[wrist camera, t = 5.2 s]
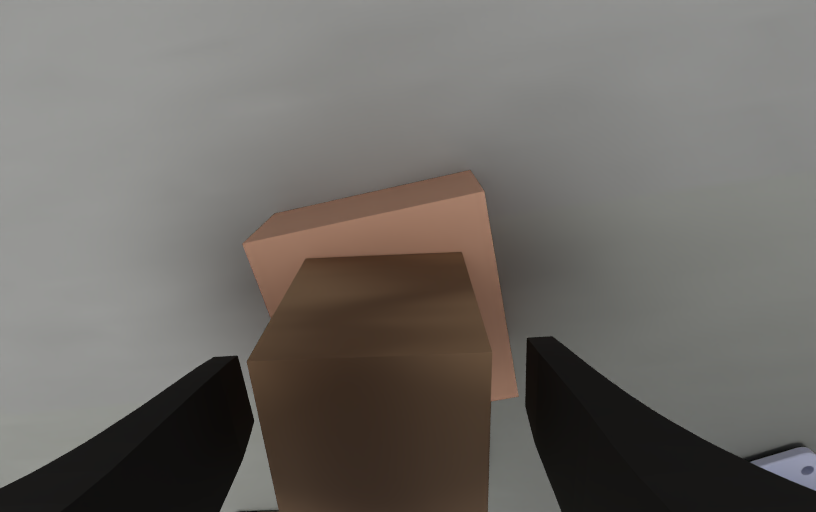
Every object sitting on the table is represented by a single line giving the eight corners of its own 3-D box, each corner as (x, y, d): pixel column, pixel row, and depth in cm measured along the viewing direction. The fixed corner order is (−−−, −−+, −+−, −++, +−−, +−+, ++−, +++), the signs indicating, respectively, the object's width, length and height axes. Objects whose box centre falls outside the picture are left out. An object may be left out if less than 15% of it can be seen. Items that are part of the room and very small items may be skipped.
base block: (468, 168, 15) (484, 191, 12) (499, 339, 18) (518, 396, 15) (276, 211, 16) (242, 243, 13) (331, 370, 18) (314, 432, 15)
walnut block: (461, 252, 13) (492, 352, 8) (462, 381, 14) (487, 525, 10) (305, 258, 13) (246, 361, 8) (323, 386, 14) (283, 531, 10)
